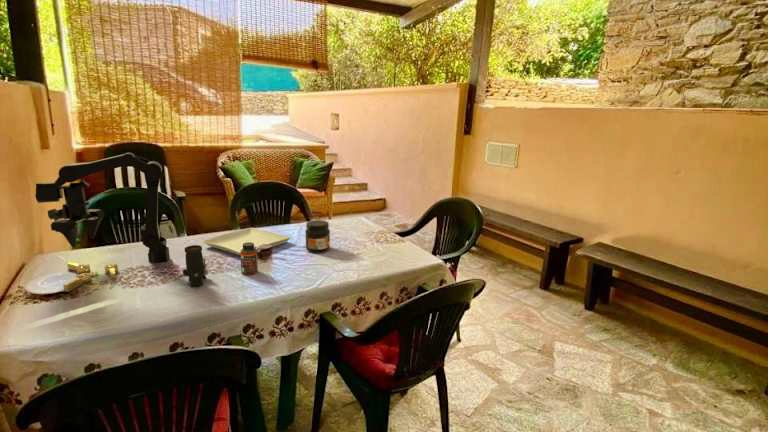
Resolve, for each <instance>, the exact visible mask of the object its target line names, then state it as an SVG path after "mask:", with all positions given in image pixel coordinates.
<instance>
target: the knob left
mask: <svg viewBox="0 0 768 432" xmlns="http://www.w3.org/2000/svg"><path fill="white" fill-rule="evenodd" d="M92 281H93V280H92V277H91V274H90V273H82V274H79V275H78V274H77V275H76V278H74V279H72V280H70V281H67V282H66V283H64V284H63V285H62V286H63V291H64V292H67V293H68V292H71V291H73V290H74V289H75V288H78V287H79V286H81V285H87V284H89V283H91V282H92Z"/></svg>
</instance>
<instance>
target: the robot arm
mask: <svg viewBox="0 0 768 432" xmlns="http://www.w3.org/2000/svg"><path fill="white" fill-rule="evenodd" d="M123 166H130V167H132V168H133V169H135V170H137V171H138V172H141V173H143V175H144V181H145V184H146V215H145V216H146V217H145V218H146V219H145V221H146V223H145V225H141V227H140V234H141V236H140V239H139V240H140V241H142V245H144V246H145V248H148V253H147V259H148V262H149V263H153V264H163V263H168V261H170V260H171V261H173V260H172V258H170V257H171V256H170V247H169V246H167V243H168V241H167V239H166V238H165V237H163V236H162V235H161V232H160V228H159V223H158V214H159V213H158V211H159V209H158V207H159V205H158V204H159V203H158V202H159V185H160V180H161V176H162V173H163V167H162V165H161V164H160V162H158V161H154V160H151V161H150V160H148V159H147V158H143V157H140V156H138V155H136V154H134V153H133V152H126V153H123V154H120V155H119V154H118V155H115V156H111V157H107V158H106V157H105V158H103V159H99V160H98V159H97V160H95V161H90V162H89V161H88V162H74V163H67V164H65V165H62V167H60V168H59V170H58V173H57V174H58V177H57V178H56V180H54V181H53V182H37V183H35V195H34V196H35V199H36V201H37V203H38V204H41V203H42V204H43V203H44V204H45V203H55V202H56V203H57V202H60V201H61V199H63V198H64V201H65V203H64V204H62V208H61V209H57V208H52V209H49V210H47V216H48V218H49V219H50V220H54V221H52V222H51V224H50V230H51V231H53V232H54V231H55V233H59V234H61V235H63V236H64V238H65V239H66V241H67V242H68V244H69V245H70V247H73V248H76V245H77V237H78V236H77V234H78V228H76V227H77V224H79V223H82V222H84V223H85V224H86V227H87V230H88V231H87V232H88V235H89V238H90V239H91V240H92V239H95V236H96V233H97V231H98V229H99V226H100V224H101V222H102V220H103V219H104V218H105V216H106V215H105V211H104V210H102V209H98V208H97V209H96V208H89V209H88V207H87V206H88V205H89V204H90V202H89V201H86V196H85V191H84V188H89V187H90V183H88V182H87V181H85V179H83V178H86V177H89V176H90V175H92V174H96V173H101V172H103V171H107V170H112V169H115V168H120V167H123ZM81 179H82V180H81ZM78 180H79V181H80V180H81V181H80V182H79V181H78ZM76 181H78V182H76ZM67 183H68V185H65V184H67Z"/></svg>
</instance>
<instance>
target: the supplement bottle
mask: <svg viewBox="0 0 768 432" xmlns="http://www.w3.org/2000/svg"><path fill="white" fill-rule="evenodd" d="M239 256H240V271H241V273H242V274H243V275H245V276H250V275H255V274H257V273H258V272H259V267H258V266H259V263H258V253H257V250H256V249H255V248H254V243H252V242H247V243H244V244H243V249H242V250H241V251H240V255H239Z"/></svg>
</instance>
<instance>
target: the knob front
mask: <svg viewBox="0 0 768 432" xmlns="http://www.w3.org/2000/svg"><path fill="white" fill-rule="evenodd" d="M66 264H67V269H68V270H71V271H73V272H76V274H77V275H78V274H82V273H90V272H92V271H91V266H90V264H86V263H85V264H79V263H77V262H76V263H75V262H73V261H71V262H67V263H66Z"/></svg>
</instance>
